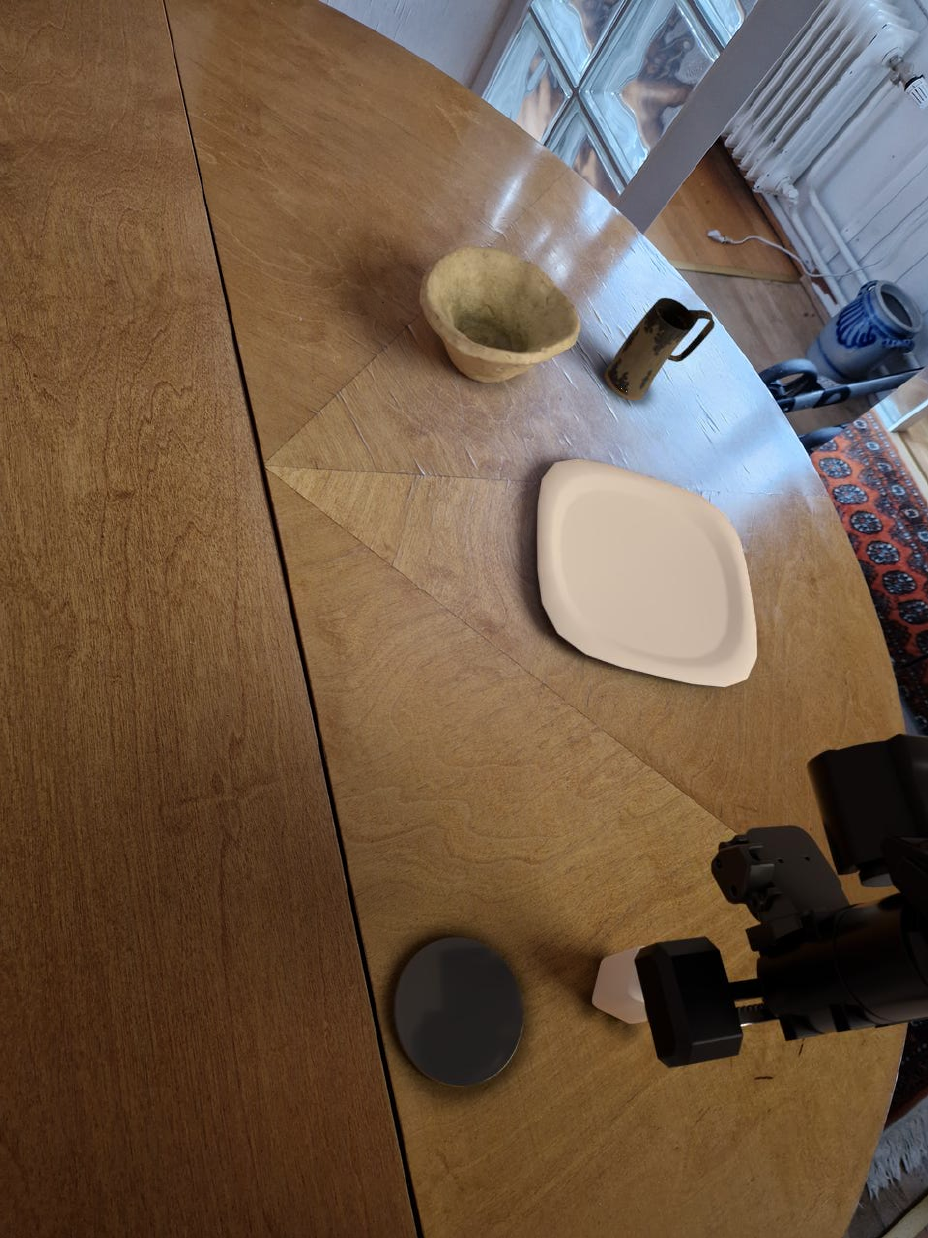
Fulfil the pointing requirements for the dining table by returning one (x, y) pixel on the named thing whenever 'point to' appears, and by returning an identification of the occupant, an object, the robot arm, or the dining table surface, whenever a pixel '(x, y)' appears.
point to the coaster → (458, 1012)
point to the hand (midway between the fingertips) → (706, 1004)
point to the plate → (644, 575)
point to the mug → (654, 346)
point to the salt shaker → (620, 987)
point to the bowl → (496, 312)
